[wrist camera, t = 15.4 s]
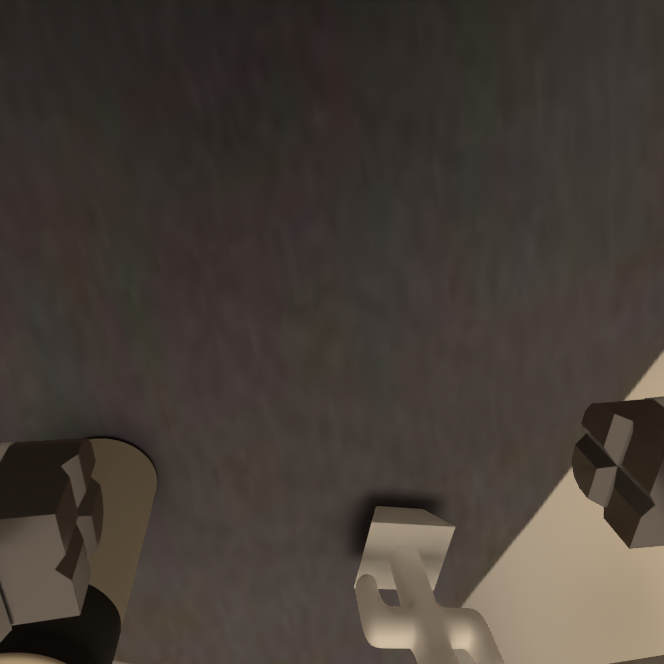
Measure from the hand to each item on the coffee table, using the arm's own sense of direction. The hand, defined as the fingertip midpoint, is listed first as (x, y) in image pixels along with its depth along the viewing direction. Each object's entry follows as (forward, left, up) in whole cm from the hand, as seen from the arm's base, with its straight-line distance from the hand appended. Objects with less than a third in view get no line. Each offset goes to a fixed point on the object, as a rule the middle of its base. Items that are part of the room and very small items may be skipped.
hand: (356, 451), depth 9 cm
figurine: (+10, -30, -30) cm, 44 cm away
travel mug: (-14, -23, -30) cm, 40 cm away
